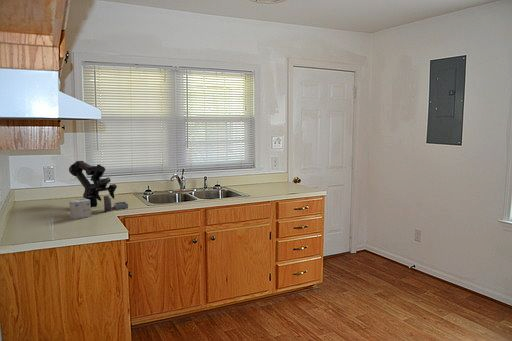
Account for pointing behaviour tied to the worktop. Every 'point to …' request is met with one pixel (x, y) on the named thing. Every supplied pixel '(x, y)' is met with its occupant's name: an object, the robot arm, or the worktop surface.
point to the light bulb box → (80, 208)
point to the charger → (107, 203)
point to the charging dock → (120, 205)
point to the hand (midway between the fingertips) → (107, 199)
